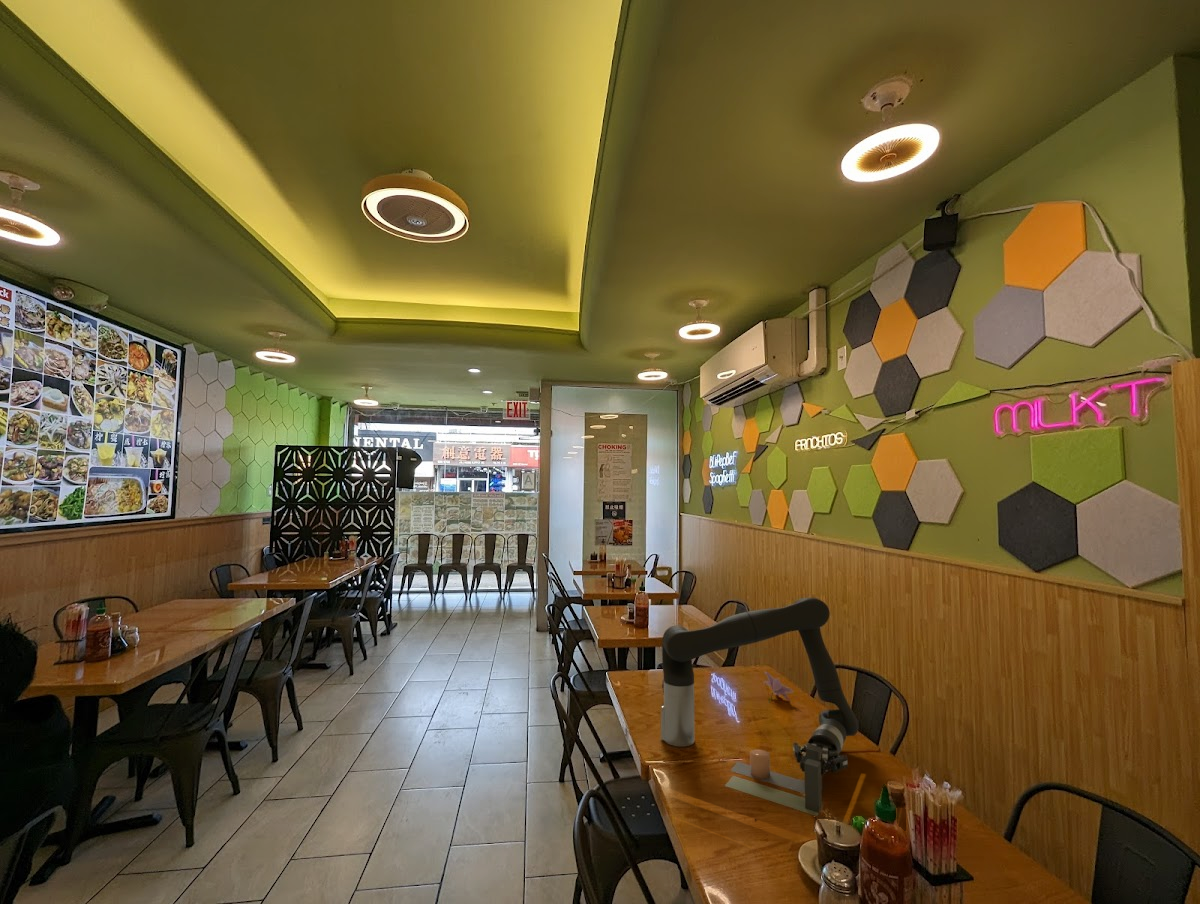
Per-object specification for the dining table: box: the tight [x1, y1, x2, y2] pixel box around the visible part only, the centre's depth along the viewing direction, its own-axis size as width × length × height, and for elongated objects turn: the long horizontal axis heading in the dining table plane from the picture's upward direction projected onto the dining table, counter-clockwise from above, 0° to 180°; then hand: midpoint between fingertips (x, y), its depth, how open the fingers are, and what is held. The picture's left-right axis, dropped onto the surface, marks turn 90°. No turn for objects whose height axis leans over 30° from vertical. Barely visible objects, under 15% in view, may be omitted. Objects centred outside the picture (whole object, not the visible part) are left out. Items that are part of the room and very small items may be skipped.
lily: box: [762, 670, 795, 703], centre depth 195 cm, size 12×12×10 cm
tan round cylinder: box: [749, 749, 771, 779], centre depth 140 cm, size 5×5×5 cm
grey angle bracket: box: [724, 758, 824, 817], centre depth 130 cm, size 22×6×11 cm, turn 56°
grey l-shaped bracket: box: [729, 743, 824, 795], centre depth 138 cm, size 22×6×11 cm, turn 56°
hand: (811, 769), depth 130 cm, fingers closed on grey l-shaped bracket, 3 cm apart
